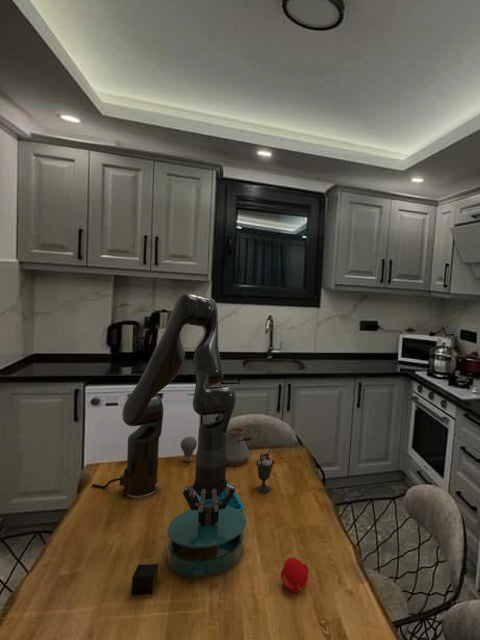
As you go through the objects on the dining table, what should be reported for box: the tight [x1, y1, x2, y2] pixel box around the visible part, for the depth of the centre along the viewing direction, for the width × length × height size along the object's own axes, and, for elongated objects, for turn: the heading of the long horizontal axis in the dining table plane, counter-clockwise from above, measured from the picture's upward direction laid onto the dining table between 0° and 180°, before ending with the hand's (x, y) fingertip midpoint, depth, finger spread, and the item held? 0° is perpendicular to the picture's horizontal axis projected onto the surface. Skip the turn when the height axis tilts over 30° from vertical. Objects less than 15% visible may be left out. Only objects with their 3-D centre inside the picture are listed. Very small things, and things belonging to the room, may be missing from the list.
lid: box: [167, 504, 247, 549], centre depth 115 cm, size 20×20×6 cm
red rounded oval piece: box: [280, 556, 309, 593], centre depth 108 cm, size 8×6×6 cm
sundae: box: [255, 449, 276, 494], centre depth 154 cm, size 7×7×15 cm
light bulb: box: [180, 435, 198, 463], centre depth 171 cm, size 6×6×10 cm
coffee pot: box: [226, 427, 254, 466], centre depth 171 cm, size 21×12×15 cm, turn 39°
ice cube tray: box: [193, 481, 245, 512], centre depth 140 cm, size 12×20×3 cm, turn 34°
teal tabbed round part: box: [167, 531, 244, 578], centre depth 116 cm, size 19×24×4 cm
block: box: [130, 563, 159, 596], centre depth 102 cm, size 4×4×5 cm
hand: (208, 523), depth 115 cm, fingers closed on lid, 2 cm apart
